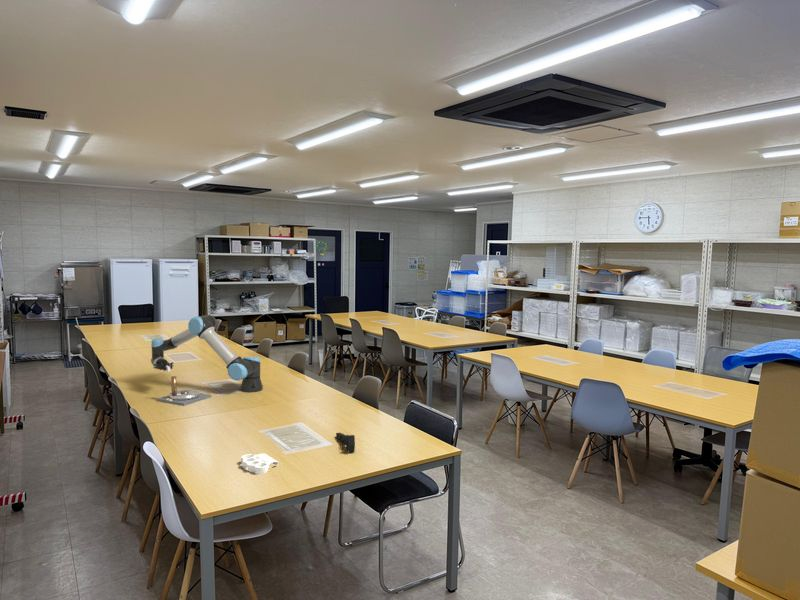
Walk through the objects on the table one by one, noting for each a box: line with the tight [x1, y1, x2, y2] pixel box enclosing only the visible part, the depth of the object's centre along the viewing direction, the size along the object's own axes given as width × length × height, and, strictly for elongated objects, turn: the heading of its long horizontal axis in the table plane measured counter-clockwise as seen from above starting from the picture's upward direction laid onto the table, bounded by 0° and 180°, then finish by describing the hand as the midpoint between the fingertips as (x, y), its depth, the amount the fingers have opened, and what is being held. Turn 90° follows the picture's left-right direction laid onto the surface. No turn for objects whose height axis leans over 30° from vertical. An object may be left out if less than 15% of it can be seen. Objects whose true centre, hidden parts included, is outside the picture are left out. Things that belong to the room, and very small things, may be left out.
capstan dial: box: [168, 375, 200, 400], centre depth 341 cm, size 18×18×14 cm
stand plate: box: [156, 392, 212, 407], centre depth 342 cm, size 23×23×2 cm
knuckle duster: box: [239, 453, 280, 475], centre depth 237 cm, size 3×18×15 cm
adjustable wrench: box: [335, 432, 356, 454], centre depth 265 cm, size 8×3×25 cm
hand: (169, 369), depth 344 cm, fingers closed
